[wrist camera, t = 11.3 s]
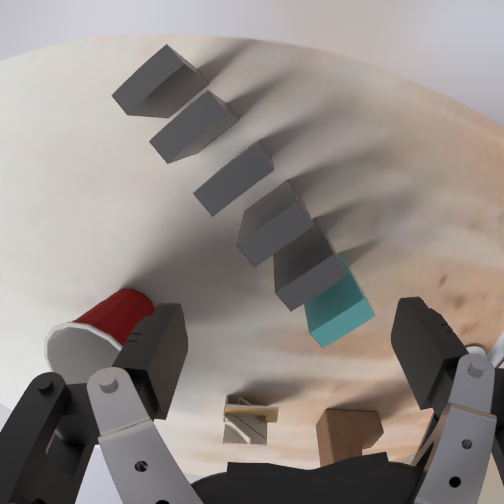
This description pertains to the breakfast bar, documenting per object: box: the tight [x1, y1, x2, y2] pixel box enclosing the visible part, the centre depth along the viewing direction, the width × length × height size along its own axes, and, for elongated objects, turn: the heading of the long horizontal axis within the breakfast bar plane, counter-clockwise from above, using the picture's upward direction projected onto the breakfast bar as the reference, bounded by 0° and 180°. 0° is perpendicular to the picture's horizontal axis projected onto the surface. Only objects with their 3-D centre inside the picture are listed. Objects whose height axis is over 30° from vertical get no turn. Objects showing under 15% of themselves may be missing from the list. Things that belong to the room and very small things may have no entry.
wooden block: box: [316, 409, 384, 467], centre depth 32 cm, size 9×4×18 cm, turn 78°
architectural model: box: [223, 396, 279, 446], centre depth 36 cm, size 3×7×7 cm, turn 89°
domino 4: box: [236, 180, 315, 267], centre depth 24 cm, size 2×5×9 cm, turn 128°
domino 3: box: [193, 141, 274, 217], centre depth 23 cm, size 2×5×9 cm, turn 128°
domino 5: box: [273, 218, 348, 311], centre depth 26 cm, size 2×5×9 cm, turn 128°
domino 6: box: [304, 253, 375, 348], centre depth 27 cm, size 2×5×9 cm, turn 129°
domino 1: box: [112, 44, 209, 118], centre depth 21 cm, size 2×5×9 cm, turn 128°
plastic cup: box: [45, 289, 155, 384], centre depth 28 cm, size 11×11×12 cm
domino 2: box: [149, 90, 240, 164], centre depth 22 cm, size 2×5×9 cm, turn 128°
